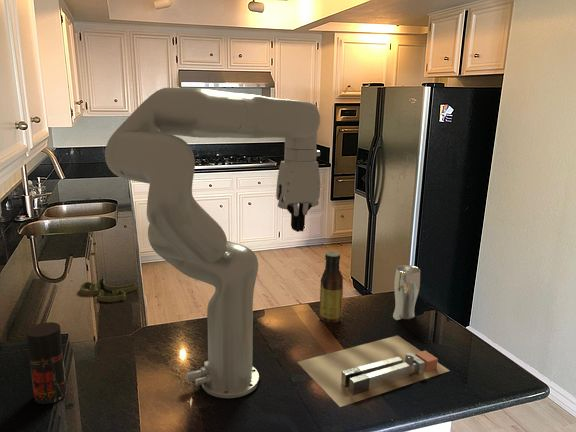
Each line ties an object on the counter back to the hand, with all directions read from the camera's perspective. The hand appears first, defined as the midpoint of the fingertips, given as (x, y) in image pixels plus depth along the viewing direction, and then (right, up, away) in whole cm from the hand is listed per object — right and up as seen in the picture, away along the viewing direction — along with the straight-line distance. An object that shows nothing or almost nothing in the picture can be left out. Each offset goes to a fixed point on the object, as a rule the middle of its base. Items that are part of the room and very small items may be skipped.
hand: (297, 230), depth 115 cm
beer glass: (+31, -26, +19) cm, 45 cm away
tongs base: (+19, -32, -13) cm, 40 cm away
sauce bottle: (+10, -26, +17) cm, 33 cm away
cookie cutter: (-59, -21, +31) cm, 70 cm away
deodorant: (-51, -34, -19) cm, 64 cm away
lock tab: (+29, -31, -7) cm, 44 cm away
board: (+17, -32, -8) cm, 37 cm away
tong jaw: (+16, -32, -12) cm, 38 cm away
